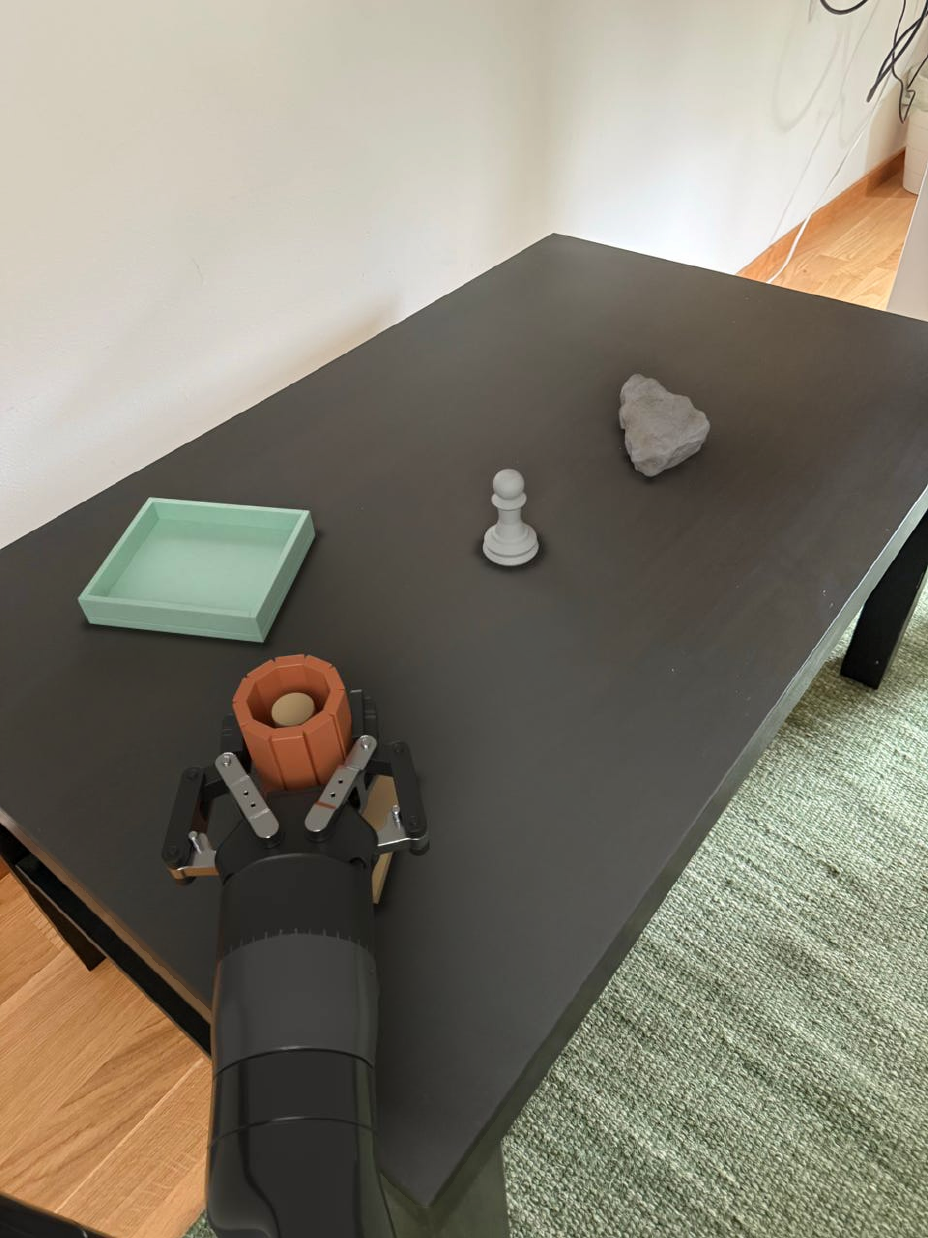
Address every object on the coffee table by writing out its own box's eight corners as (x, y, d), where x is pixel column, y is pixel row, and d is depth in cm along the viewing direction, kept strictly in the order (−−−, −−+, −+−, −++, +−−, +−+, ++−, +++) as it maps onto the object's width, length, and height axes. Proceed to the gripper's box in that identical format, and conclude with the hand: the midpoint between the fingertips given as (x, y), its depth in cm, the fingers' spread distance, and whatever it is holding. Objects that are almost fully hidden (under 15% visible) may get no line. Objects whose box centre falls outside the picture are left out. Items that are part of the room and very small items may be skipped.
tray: (89, 623, 76) (77, 599, 74) (158, 521, 85) (148, 497, 83) (263, 643, 73) (255, 618, 71) (315, 535, 82) (310, 510, 80)
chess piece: (502, 575, 77) (498, 498, 71) (472, 544, 80) (467, 468, 74) (549, 553, 78) (549, 476, 73) (518, 524, 81) (516, 448, 75)
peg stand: (240, 881, 58) (185, 763, 49) (288, 765, 64) (246, 642, 56) (377, 904, 57) (346, 786, 48) (413, 782, 63) (391, 658, 54)
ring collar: (253, 824, 56) (216, 732, 49) (287, 742, 60) (257, 648, 54) (348, 839, 55) (322, 747, 48) (376, 755, 59) (356, 659, 53)
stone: (585, 436, 90) (587, 383, 86) (655, 412, 92) (660, 359, 88) (643, 489, 83) (648, 434, 79) (716, 462, 86) (725, 407, 82)
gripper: (442, 921, 41) (414, 648, 53) (116, 964, 41) (162, 678, 52) (453, 991, 47) (426, 729, 58) (165, 1030, 46) (197, 757, 58)
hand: (301, 706), depth 55 cm, fingers closed on ring collar, 6 cm apart
